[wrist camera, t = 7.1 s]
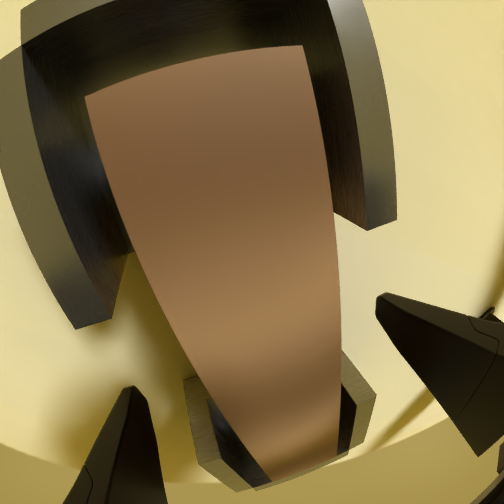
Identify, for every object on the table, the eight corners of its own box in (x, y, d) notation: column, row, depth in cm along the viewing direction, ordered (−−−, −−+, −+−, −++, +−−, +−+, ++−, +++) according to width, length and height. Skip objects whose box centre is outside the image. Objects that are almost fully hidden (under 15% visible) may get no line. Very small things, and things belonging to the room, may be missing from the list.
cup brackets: (328, 395, 18) (361, 447, 13) (222, 435, 16) (240, 495, 12) (271, 14, 8) (344, -45, 3) (57, 70, 6) (-16, 36, 2)
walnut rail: (307, 403, 14) (336, 456, 11) (250, 425, 14) (272, 481, 10) (242, 81, 7) (302, 45, 4) (124, 114, 7) (84, 96, 3)
